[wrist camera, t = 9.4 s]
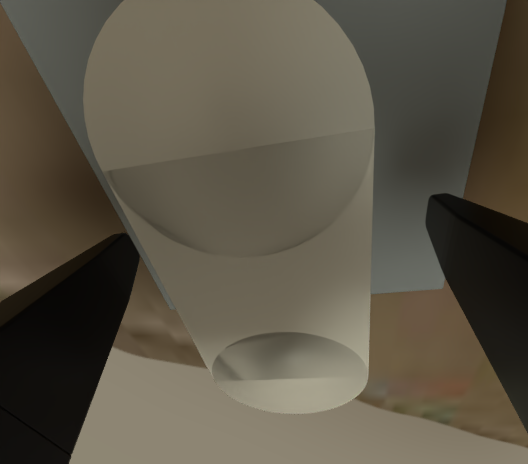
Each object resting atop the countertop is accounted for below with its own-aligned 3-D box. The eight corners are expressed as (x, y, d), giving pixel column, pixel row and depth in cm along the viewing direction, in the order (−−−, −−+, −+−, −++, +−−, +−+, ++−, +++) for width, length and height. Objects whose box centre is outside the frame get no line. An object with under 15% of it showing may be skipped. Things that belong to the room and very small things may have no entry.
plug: (324, -30, 8) (380, -84, 3) (342, 310, 16) (366, 441, 11) (165, 9, 9) (15, 11, 4) (258, 316, 17) (247, 442, 12)
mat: (525, -150, 7) (542, -161, 7) (437, 279, 15) (442, 288, 15) (10, -6, 9) (-5, -7, 9) (173, 301, 17) (170, 309, 17)
